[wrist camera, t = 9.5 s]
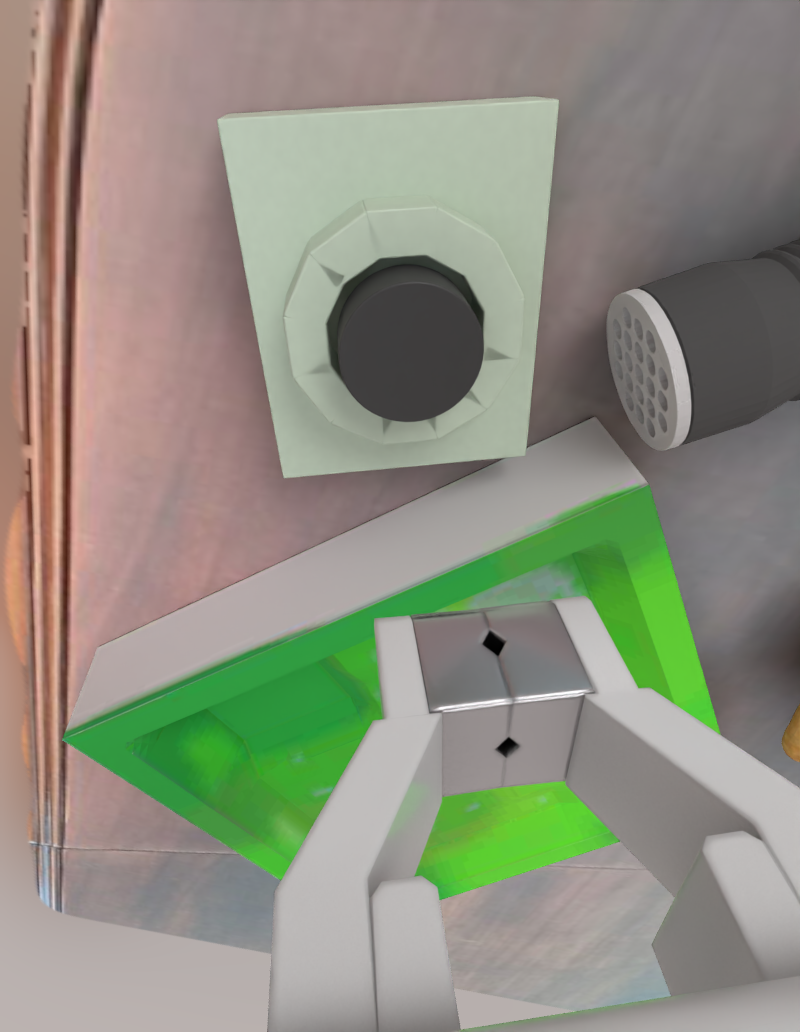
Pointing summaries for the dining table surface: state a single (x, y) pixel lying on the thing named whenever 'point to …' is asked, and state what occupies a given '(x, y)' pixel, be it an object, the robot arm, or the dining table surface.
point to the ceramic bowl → (793, 737)
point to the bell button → (408, 343)
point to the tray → (353, 661)
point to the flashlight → (708, 347)
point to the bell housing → (392, 261)
